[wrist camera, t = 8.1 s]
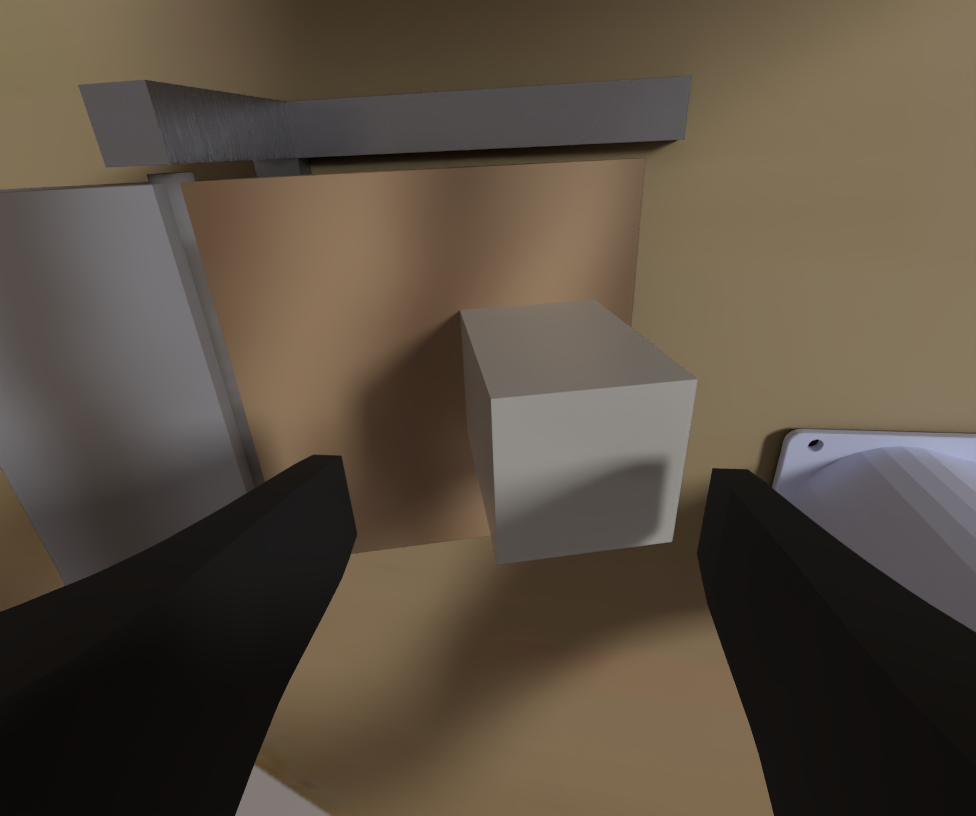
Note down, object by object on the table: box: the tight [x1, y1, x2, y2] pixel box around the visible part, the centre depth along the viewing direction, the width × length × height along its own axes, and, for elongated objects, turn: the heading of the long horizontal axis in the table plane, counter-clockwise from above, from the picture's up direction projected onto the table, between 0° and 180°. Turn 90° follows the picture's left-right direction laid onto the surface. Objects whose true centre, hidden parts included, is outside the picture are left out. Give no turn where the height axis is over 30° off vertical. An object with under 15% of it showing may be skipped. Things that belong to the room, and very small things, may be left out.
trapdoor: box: [0, 158, 645, 585], centre depth 16 cm, size 18×12×2 cm
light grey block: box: [460, 300, 698, 565], centre depth 13 cm, size 4×4×6 cm
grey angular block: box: [78, 76, 692, 177], centre depth 17 cm, size 14×16×7 cm
